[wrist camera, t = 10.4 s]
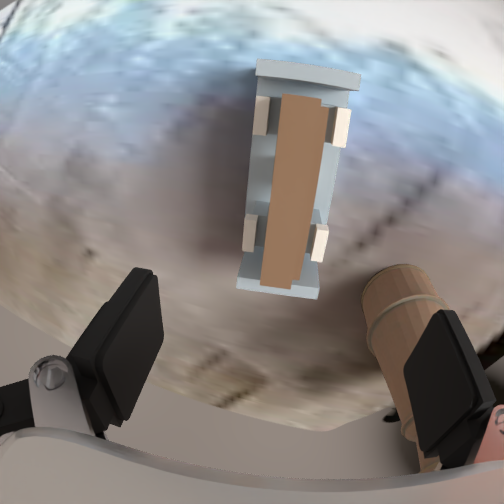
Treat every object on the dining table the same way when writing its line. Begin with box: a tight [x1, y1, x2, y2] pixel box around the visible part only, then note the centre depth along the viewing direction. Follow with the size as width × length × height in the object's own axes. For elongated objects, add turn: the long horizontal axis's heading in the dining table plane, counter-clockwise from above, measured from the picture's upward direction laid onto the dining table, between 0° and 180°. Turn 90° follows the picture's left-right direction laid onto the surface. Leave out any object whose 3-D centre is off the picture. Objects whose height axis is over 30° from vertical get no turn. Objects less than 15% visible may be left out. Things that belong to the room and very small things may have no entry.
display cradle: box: [236, 59, 361, 299], centre depth 26 cm, size 18×8×8 cm, turn 175°
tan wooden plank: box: [260, 93, 329, 290], centre depth 23 cm, size 14×3×5 cm, turn 175°
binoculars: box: [361, 264, 450, 474], centre depth 26 cm, size 21×10×25 cm, turn 43°
